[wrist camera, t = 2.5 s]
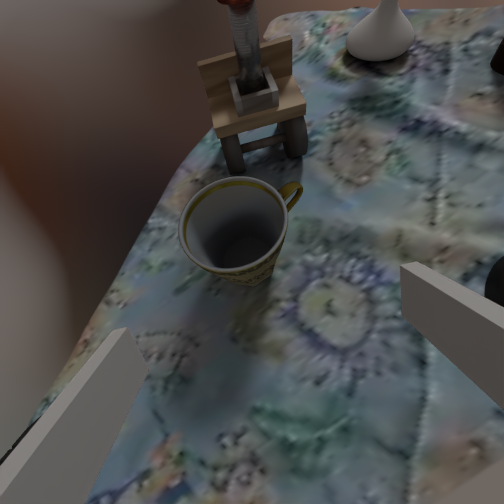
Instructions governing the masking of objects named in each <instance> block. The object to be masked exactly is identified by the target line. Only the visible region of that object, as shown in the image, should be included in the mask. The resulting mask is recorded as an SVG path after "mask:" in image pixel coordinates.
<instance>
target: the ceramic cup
mask: <svg viewBox="0 0 504 504" xmlns="http://www.w3.org/2000/svg"><path fill="white" fill-rule="evenodd" d="M297 189H298V190H297ZM296 190H297V192H296V194H295V196H294V197H293V198H292V200H291V201H290V202H289V203H288V204H287V206H286V204H285V202H284V201H285V200H286V199H287V198H288V197H289V196H290V195H291V194H292V193H293V192H295V191H296ZM302 193H303V187H302V185H301V184H300V183H298V182H290V183H287V184H285V185H284V186H282V187H281V188H280V189H279V190H278V191H277V190H276V189H275V188H274V187H272V186H271V185H269V184H268V183H266V182H264V181H262V180H260V179H256V178H252V177H246V176H234V177H227V178H223V179H220V180H217V181H214V182H212V183H210V184H208V185H207V186H205V187H203V188H202V189H201V190H199V191H198V192H197V193H196V194H195V195H194V196H193V197H192V198H191V199H190V200H189V202H188V203H187V204H186V206H185V208H184V210H183V212H182V214H181V217H180V221H179V227H178V234H179V240H180V243H181V246H182V248H183V250H184V252H185V253H186V254H187V256H188V257H189V258H190V259H191V260H192V261H193V262H195V263H196V264H197V265H199V266H200V267H201V268H203V269H205V270H206V271H208V272H210V273H212V274H214V275H217V276H220V277H221V278H223V279H226V280H228V281H229V282H231V283H234V284H240V285H246V286H256V285H257V284H258V283H260V282H261V281H263V280H264V279H266V278H267V277H269V276H270V275H271V274H272V272H273V269H274V266H275V262H276V259H277V257H278V255H279V253H280V251H281V248H282V245H283V242H284V238H285V234H286V230H287V225H288V212H289V211H290V210H291V208H292V207H293V206H294V205H295V204H296V202H297V201H298V200H299V198H300V197H301V195H302Z"/></svg>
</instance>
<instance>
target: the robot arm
mask: <svg viewBox="0 0 504 504" xmlns="http://www.w3.org/2000/svg"><path fill="white" fill-rule="evenodd" d="M400 282H401V311H402V316H403V317H404V318H405V319H406V320H407V321H408V322H409V323H410V324H411V325H412V326H414V327H415V328H416V329H417V330H418V331H419V332H420V333H421V334H422V335H423V336H424V337H425V338H426V339H428V340H429V341H430V342H431V343H432V344H433V345H434V346H435V347H436V348H437V349H438V350H439V351H441V352H442V353H443V354H444V355H445V356H446V357H447V358H448V359H449V360H450V361H451V362H452V363H453V364H455V365H456V366H457V367H458V368H459V369H460V370H461V371H462V372H463V373H464V374H465V375H466V376H468V377H469V378H470V379H471V380H472V381H473V382H474V383H475V384H476V385H477V386H478V387H479V388H480V389H482V390H483V391H484V392H485V393H486V394H487V395H488V396H489V397H490V398H491V399H492V400H493V401H494V402H496V403H497V404H498V405H499V406H500V407H501V408H502V409H503V410H504V256H503V257H502V258H501V259H499V260H498V261H497V262H496V264H495V265H494V266H493V268H492V269H491V271H490V273H489V275H488V278H487V282H486V298H485V297H483V296H481V295H479V294H477V293H475V292H474V291H472V290H470V289H468V288H466V287H464V286H462V285H460V284H458V283H457V282H455V281H453V280H451V279H449V278H447V277H445V276H443V275H441V274H440V273H438V272H436V271H434V270H432V269H430V268H428V267H426V266H424V265H423V264H421V263H419V262H412V263H408V264H403V265H400ZM148 371H149V368H148V366H147V364H146V362H145V360H144V358H143V356H142V354H141V352H140V350H139V348H138V346H137V344H136V342H135V340H134V338H133V336H132V334H131V332H130V330H129V328H128V327H125V328H120V329H116V330H113V331H112V332H111V333H110V334H109V336H108V337H107V338H106V339H105V340H104V342H103V343H102V344H101V345H100V346H99V348H98V349H97V350H96V351H95V352H94V354H93V355H92V356H91V357H90V358H89V360H88V361H87V362H86V363H85V364H84V366H83V367H82V368H81V369H80V371H79V372H78V373H77V374H76V375H75V377H74V378H73V379H72V380H71V381H70V383H69V384H68V385H67V386H66V387H65V389H64V390H63V391H62V392H61V393H60V395H59V396H58V397H57V398H56V399H55V401H54V402H53V403H52V404H51V405H50V407H49V408H48V409H47V410H46V412H45V413H44V414H43V415H41V416H40V417H39V418H38V419H37V420H36V421H35V422H34V423H32V424H31V425H30V426H29V427H28V428H27V429H26V430H25V431H24V433H23V434H22V435H21V436H20V437H19V439H18V440H17V441H16V442H15V443H14V444H13V446H12V449H10V450H8V451H7V453H6V454H5V455H4V456H3V457H2V458H1V460H0V504H85V502H86V500H87V498H88V496H89V494H90V491H91V489H92V487H93V485H94V483H95V481H96V479H97V477H98V475H99V473H100V471H101V469H102V467H103V464H104V462H105V460H106V458H107V456H108V454H109V452H110V450H111V448H112V446H113V444H114V442H115V440H116V438H117V435H118V433H119V431H120V429H121V427H122V425H123V423H124V421H125V419H126V417H127V415H128V413H129V411H130V409H131V406H132V404H133V402H134V400H135V398H136V396H137V394H138V392H139V390H140V388H141V386H142V384H143V382H144V379H145V377H146V375H147V373H148Z"/></svg>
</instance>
